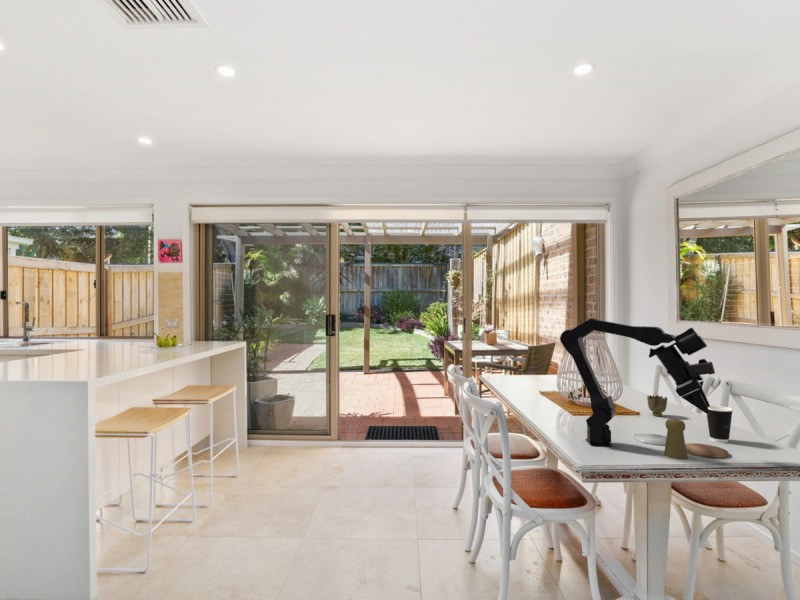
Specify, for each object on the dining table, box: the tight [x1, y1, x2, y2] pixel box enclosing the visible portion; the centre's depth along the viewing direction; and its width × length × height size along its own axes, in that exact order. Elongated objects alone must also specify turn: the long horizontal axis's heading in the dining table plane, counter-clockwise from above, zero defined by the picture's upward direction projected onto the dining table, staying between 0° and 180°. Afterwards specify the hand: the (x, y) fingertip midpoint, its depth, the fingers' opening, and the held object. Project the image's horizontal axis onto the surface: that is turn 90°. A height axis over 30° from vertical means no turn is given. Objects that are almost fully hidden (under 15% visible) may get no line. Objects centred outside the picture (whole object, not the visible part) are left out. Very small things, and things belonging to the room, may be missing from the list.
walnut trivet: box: [685, 442, 729, 460], centre depth 142 cm, size 12×12×1 cm
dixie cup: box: [706, 405, 734, 444], centre depth 155 cm, size 8×8×11 cm
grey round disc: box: [633, 433, 667, 447], centre depth 155 cm, size 12×12×1 cm
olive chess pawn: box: [663, 418, 688, 460], centre depth 139 cm, size 6×6×11 cm
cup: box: [646, 394, 668, 417], centre depth 190 cm, size 8×7×8 cm
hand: (708, 409), depth 134 cm, fingers open, 9 cm apart
